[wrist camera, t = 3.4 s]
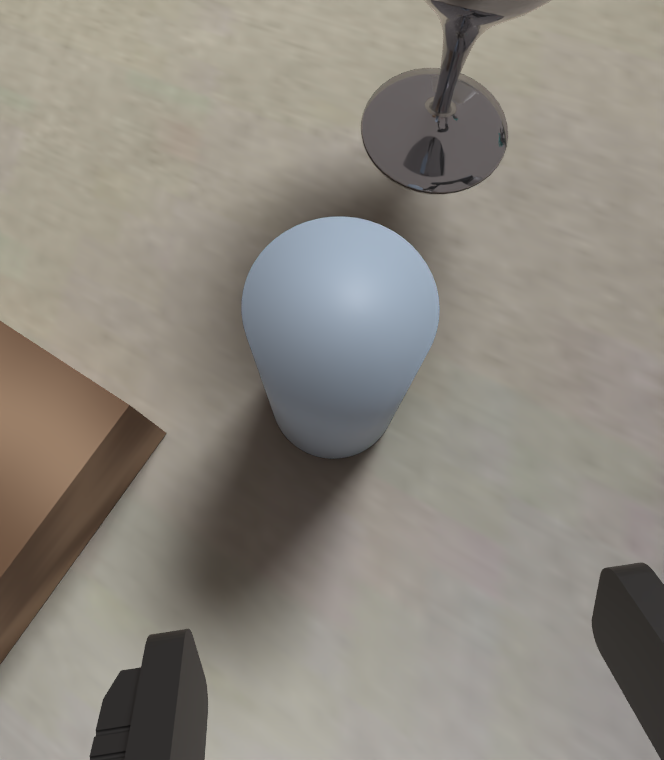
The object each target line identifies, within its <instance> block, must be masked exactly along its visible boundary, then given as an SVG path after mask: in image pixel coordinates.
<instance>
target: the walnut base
mask: <svg viewBox="0 0 664 760" xmlns="http://www.w3.org/2000/svg"><path fill="white" fill-rule="evenodd" d="M165 435H166V432H164V431H163V430H162V429H160V428H159V427H158V426H156V425H155V424H154V423H152V422H151V421H150V420H148V419H147V418H146V417H144V416H143V415H142V414H140V413H139V412H138V411H136V410H135V409H134V408H133V407H131V406H130V405H128V404H127V403H125V402H124V401H122V400H121V399H119V398H118V397H116V396H115V395H113V394H112V393H110V392H108V391H107V390H105V389H104V388H102V387H101V386H99V385H98V384H96V383H95V382H93V381H92V380H90V379H89V378H87V377H85V376H84V375H82V374H81V373H79V372H78V371H76V370H75V369H73V368H72V367H70V366H69V365H67V364H66V363H64V362H62V361H61V360H59V359H58V358H56V357H55V356H53V355H52V354H50V353H49V352H47V351H46V350H44V349H43V348H41V347H39V346H38V345H36V344H35V343H33V342H32V341H30V340H29V339H27V338H26V337H24V336H23V335H21V334H20V333H18V332H16V331H15V330H13V329H12V328H10V327H9V326H7V325H6V324H4V323H3V322H1V321H0V664H1V663H2V661H3V660H4V658H5V657H6V656H7V654H8V653H9V651H10V650H11V649H12V647H13V646H14V645H15V643H16V642H17V640H18V639H19V638H20V636H21V635H22V633H23V632H24V631H25V629H26V628H27V626H28V625H29V624H30V622H31V621H32V619H33V618H34V617H35V615H36V614H37V613H38V611H39V610H40V608H41V607H42V606H43V604H44V603H45V601H46V600H47V599H48V597H49V596H50V594H51V593H52V592H53V590H54V589H55V588H56V586H57V585H58V583H59V582H60V581H61V579H62V578H63V576H64V575H65V574H66V572H67V571H68V569H69V568H70V567H71V565H72V564H73V563H74V561H75V560H76V558H77V557H78V556H79V554H80V553H81V551H82V550H83V549H84V547H85V546H86V544H87V543H88V542H89V540H90V539H91V537H92V536H93V535H94V533H95V532H96V531H97V529H98V528H99V526H100V525H101V524H102V522H103V521H104V519H105V518H106V517H107V515H108V514H109V512H110V511H111V510H112V508H113V507H114V506H115V504H116V503H117V501H118V500H119V499H120V497H121V496H122V494H123V493H124V492H125V490H126V489H127V487H128V486H129V485H130V483H131V482H132V481H133V479H134V478H135V476H136V475H137V474H138V472H139V471H140V469H141V468H142V467H143V465H144V464H145V462H146V461H147V460H148V458H149V457H150V456H151V454H152V453H153V451H154V450H155V449H156V447H157V446H158V444H159V443H160V442H161V440H162V439H163V437H164V436H165Z"/></svg>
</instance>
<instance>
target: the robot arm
mask: <svg viewBox="0 0 664 760" xmlns="http://www.w3.org/2000/svg"><path fill="white" fill-rule="evenodd" d="M592 629H593V634H594V638H595V642H596V644H597V647H598V649H599V651H600V653H601V655H602V657H603V659H604V660H605V662H606V664H607V666H608V667H609V669H610V671H611V673H612V674H613V676H614V678H615V680H616V681H617V683H618V685H619V687H620V688H621V690H622V692H623V694H624V695H625V697H626V699H627V701H628V702H629V704H630V706H631V708H632V709H633V711H634V713H635V715H636V716H637V718H638V720H639V722H640V723H641V725H642V727H643V729H644V731H645V732H646V734H647V736H648V738H649V739H650V741H651V743H652V745H653V746H654V748H655V750H656V752H657V753H658V755H659V757H660V759H661V760H664V584H663V583H662V582H661V580H660V579H659V578H658V576H657V575H656V574H655V572H654V571H653V570H652V569H651V568H650V567H649V566H648V565H646V564H645V563H635V564H628V565H622V566H615V567H608V568H604V569H603V570H602V571H601V574H600V579H599V584H598V589H597V595H596V600H595V605H594V611H593V616H592ZM207 717H208V694H207V685H206V679H205V675H204V672H203V668H202V665H201V662H200V658H199V655H198V652H197V648H196V645H195V642H194V639H193V635H192V632H191V630H190V629H185V630H179V631H172V632H165V633H159V634H152V635H149V637H148V638H147V641H146V645H145V650H144V655H143V660H142V666H141V668H135V669H128V670H122V671H120V673H119V674H118V676H117V678H116V679H115V681H114V683H113V684H112V686H111V687H110V689H109V691H108V692H107V694H106V695H105V697H104V699H103V702H102V706H101V710H100V715H99V719H98V723H97V727H96V737H94V740H93V745H92V749H91V753H90V760H204V759H205V745H206V731H207Z"/></svg>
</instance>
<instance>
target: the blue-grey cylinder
mask: <svg viewBox="0 0 664 760" xmlns="http://www.w3.org/2000/svg"><path fill="white" fill-rule="evenodd" d="M439 309H440V308H439V296H438V292H437V287H436V284H435V281H434V278H433V276H432V273H431V271H430V269H429V268H428V266H427V264H426V262H425V261H424V259H423V258H422V257H421V255H420V254H419V253H418V252H417V250H416V249H415V248H414V247H413V246H412V245H411V244H410V243H409V242H407V241H406V240H405V239H404V238H403V237H401V236H400V235H398V234H397V233H395V232H394V231H392V230H390V229H388V228H386V227H384V226H382V225H380V224H377V223H374V222H372V221H369V220H364V219H360V218H354V217H344V216H343V217H325V218H319V219H315V220H311V221H307V222H304V223H302V224H299V225H297V226H295V227H293V228H291V229H289V230H287V231H285V232H284V233H282V234H281V235H279V236H278V237H277V238H275V239H274V240H273V241H272V242H271V243H270V244H269V245H268V246H266V248H265V249H264V250H263V251H262V252H261V254H260V255H259V256H258V257H257V259H256V261H255V262H254V264H253V265H252V267H251V269H250V272H249V274H248V276H247V279H246V282H245V285H244V289H243V295H242V320H243V326H244V329H245V333H246V337H247V339H248V342H249V345H250V348H251V351H252V354H253V357H254V359H255V362H256V365H257V368H258V371H259V374H260V377H261V379H262V382H263V385H264V388H265V391H266V394H267V397H268V399H269V402H270V405H271V408H272V411H273V414H274V417H275V419H276V422H277V424H278V426H279V428H280V429H281V431H282V433H283V434H284V435H285V436H286V438H287V439H288V440H289V441H290V442H291V443H292V444H294V445H295V446H296V447H298V448H299V449H301V450H303V451H304V452H306V453H309V454H311V455H314V456H317V457H321V458H329V459H338V458H345V457H350V456H353V455H356V454H358V453H361V452H363V451H364V450H366V449H368V448H369V447H371V446H372V445H373V444H374V443H376V442H377V440H378V439H379V438H380V437H381V436H382V435H383V433H384V432H385V431H386V429H387V427H388V425H389V423H390V422H391V420H392V418H393V416H394V414H395V412H396V410H397V409H398V407H399V405H400V403H401V401H402V399H403V398H404V396H405V394H406V392H407V390H408V388H409V386H410V385H411V383H412V381H413V379H414V377H415V375H416V373H417V372H418V370H419V368H420V366H421V364H422V362H423V361H424V359H425V357H426V355H427V353H428V351H429V349H430V347H431V345H432V343H433V341H434V338H435V335H436V332H437V327H438V322H439Z"/></svg>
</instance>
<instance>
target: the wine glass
mask: <svg viewBox="0 0 664 760" xmlns="http://www.w3.org/2000/svg"><path fill="white" fill-rule="evenodd" d="M424 1H425V2H426V3H427V4H428V5H429V6H430V7H431V9H432V10H433V11H434V12H435V13H436V14H437V16H438V18H439V20H440V23H441V26H442V30H443V50H442V61H441V69H440V68H422V69H414V70H411V71H407V72H404V73H401V74H399V75H397V76H395V77H392V78H391V79H389V80H388V81H386V82H385V83H384V84H382V85H381V86H380V87H379V88H378V89H377V90H376V91H375V92H374V94H373V95H372V96H371V98H370V99H369V101H368V103H367V105H366V107H365V110H364V113H363V118H362V137H363V142H364V145H365V147H366V150H367V152H368V154H369V156H370V157H371V159H372V160H373V162H374V163H375V165H376V166H377V167H378V168H379V169H380V170H381V171H382V172H383V173H384V174H386V175H387V176H388V177H390V178H391V179H392V180H394V181H396V182H398V183H400V184H402V185H403V186H405V187H408V188H411V189H414V190H417V191H423V192H429V193H449V192H456V191H460V190H463V189H466V188H470V187H472V186H474V185H475V184H477V183H479V182H481V181H482V180H484V179H485V178H486V177H488V176H489V175H490V174H491V173H492V172H493V171H494V170H495V169H496V168H497V166H498V165H499V163H500V161H501V160H502V158H503V156H504V153H505V150H506V147H507V141H508V128H507V122H506V118H505V115H504V112H503V110H502V108H501V106H500V104H499V103H498V101H497V100H496V99H495V97H494V96H493V95H492V94H491V93H490V92H489V91H488V90H487V89H486V88H485V87H484V86H483V85H481V84H480V83H478V82H477V81H475V80H474V79H472V78H470V77H468V76H466V75H464V74H461V73H460V72H461V70H462V68H463V66H464V63H465V61H466V59H467V57H468V55H469V53H470V51H471V49H472V47H473V45H474V43H475V42H476V40H477V39H478V38H479V37H480V36H481V35H482V34H483V33H484V32H485V31H486V30H488V29H489V28H491V27H492V26H495V25H498V24H501V23H503V22H506V21H509V20H512V19H515V18H518V17H521V16H523V15H525V14H528V13H530V12H532V11H534V10H536V9H538V8H539V7H541V6H543V5H545V4H546V3H548V2H550V1H551V0H424Z"/></svg>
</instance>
